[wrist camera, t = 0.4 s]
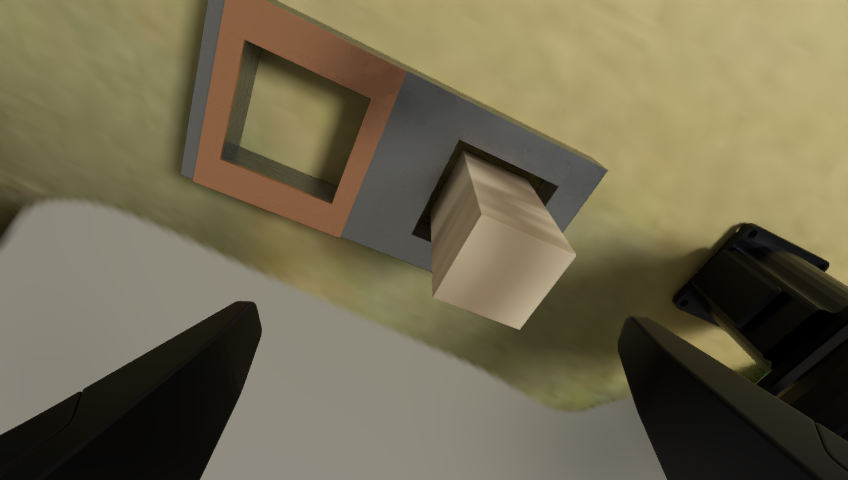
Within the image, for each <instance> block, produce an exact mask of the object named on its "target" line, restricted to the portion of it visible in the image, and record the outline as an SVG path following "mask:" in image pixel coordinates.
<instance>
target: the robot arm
mask: <svg viewBox="0 0 848 480" xmlns="http://www.w3.org/2000/svg"><path fill="white" fill-rule="evenodd" d="M751 231H752V232H751ZM749 232H751V233H750V234H749ZM828 268H829V262H827V261H826V260H824V259H822V258H821V257H819V256H817V255H815V254H813V253H811V252H809V251H807V250H805V249H803V248H801V247H799V246H797V245H795V244H793V243H791V242H789V241H787V240H785V239H783V238H781V237H779V236H777V235H775V234H773V233H772V232H770V231H768V230H766V229H764V228H762V227H760V226H758V225H756V224H753V223H749V224H746V225H744V226H743V227H741V228H740V230H739V231H738V232H737V233H736V234H735V235H734V236H733V237H732V238H731V239H730V240H729V241H728V242H727V243H726V244H725V245H724V246H723V247H722V248H721V249H720V250H719V251H718V252H717V253H716V254H715V255H714V256H713V257H712V258H711V259H710V260H709V261H708V263H707V264H706V265H705V266H704V267H703V268H702V269H701V270H700V271H699V272H698V273H697V274H696V275H695V276H694V277H693V278H692V279H691V280H690V281H689V282H688V283H687V284H686V285H685V286H684V287H683V288H682V289H681V290H680V291H679V292H678V293H677V295H676V296H675V297H674V298H673V301H672V302H673V304H674V305H675V306H676V307H677V308H678V309H680V310H683V311H685V312H687V313H690V314H692V315H694V316H697V317H699V318H701V319H704V320H706V321H708V322H711V323H713V324H716V325H718V326H720V327H722V328H723V329H724V330H725V331H726V332H727V333H728V334H729V335H730V336H731V337H732V338H733V339H734V340H735V341H736V342H737V343H738V344H739V345H740V346H741V347H742V348H743V349H744V351H745V352H746V353H747V354H748V355H749V356H750V357H751V358H752V359H753V360H754V361H755V362H756V363H757V364H758V365H759V366H760V367H761V368H762V369H763V370H764V371H765V372H766V373H767V374H766V375H765V376H764V377H762V378H761V379H760V380H759V381H758V382H757V383H755V384H754V383H753V382H751V381H749V380H748V379H746V378H745V377H743V376H741V375H740V374H738V373H737V372H735V371H733V370H732V369H730V368H728V367H727V366H725V365H724V364H722V363H720V362H719V361H717V360H716V359H714V358H712V357H711V356H709V355H708V354H706V353H704V352H703V351H701V350H700V349H698V348H696V347H695V346H693V345H692V344H690V343H688V342H687V341H685V340H683V339H682V338H680V337H679V336H677V335H675V334H674V333H672V332H671V331H669V330H667V329H666V328H664V327H663V326H661V325H659V324H658V323H656V322H655V321H653V320H651V319H650V318H648V317H645V316H629V317H627V318H626V320H625V322H624V325H623V328H622V331H621V334H620V337H619V340H618V352H619V355H620V359H621V362H622V365H623V368H624V371H625V374H626V378H627V381H628V384H629V387H630V390H631V394H632V397H633V400H634V403H635V405H636V408H637V411H638V414H639V416H640V419H641V421H642V423H643V425H644V427H645V430H646V432H647V435H648V437H649V439H650V441H651V444H652V446H653V448H654V451H655V453H656V455H657V457H658V460H659V462H660V464H661V466H662V469H663V471H664V473H665V476H666V478H667V480H848V286H846V285H844V284H843V283H841V282H840V281H838V280H836V279H835V278H833V277H832V276H830V275H828V274H827V273H825V271H826V270H827V269H828ZM683 300H684V301H683ZM681 301H682V302H681ZM261 332H262V328H261V323H260V319H259V314H258V310H257V307H256V304H255V303H254V302H250V301H237V302H234V303H233V304H231V305H229V306H227V307H226V308H224V309H222V310H220V311H219V312H217V313H215V314H214V315H212V316H210V317H208V318H207V319H205V320H203V321H201V322H200V323H198V324H196V325H194V326H193V327H191V328H189V329H187V330H186V331H184V332H182V333H180V334H179V335H177V336H175V337H174V338H172V339H170V340H168V341H166V342H165V343H163V344H161V345H159V346H158V347H156V348H154V349H153V350H151V351H149V352H147V353H146V354H144V355H142V356H140V357H139V358H137V359H135V360H133V361H132V362H130V363H128V364H126V365H125V366H123V367H121V368H119V369H118V370H116V371H114V372H112V373H111V374H109V375H107V376H105V377H104V378H102V379H100V380H98V381H97V382H95V383H93V384H91V385H90V386H88V387H86V388H85V389H83V391H82V392H77V393H76V394H74V395H72V396H71V397H69V398H67V399H65V400H64V401H62V402H60V403H58V404H57V405H55V406H53V407H51V408H49V409H48V410H46V411H44V412H42V413H40V414H39V415H37V416H35V417H33V418H31V419H30V420H28V421H26V422H24V423H22V424H20V425H18V426H17V427H15V428H13V429H11V430H9V431H7V432H5V433H3V434H1V435H0V480H200V478H201V476H202V474H203V472H204V470H205V468H206V466H207V464H208V462H209V460H210V457H211V455H212V453H213V451H214V449H215V447H216V445H217V443H218V440H219V439H220V437H221V434H222V432H223V430H224V428H225V426H226V424H227V422H228V420H229V418H230V415H231V413H232V411H233V409H234V407H235V405H236V403H237V401H238V399H239V396H240V394H241V391H242V389H243V386H244V384H245V381H246V378H247V375H248V372H249V369H250V366H251V364H252V361H253V358H254V355H255V352H256V349H257V346H258V343H259V341H260V337H261Z"/></svg>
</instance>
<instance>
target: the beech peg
mask: <svg viewBox="0 0 848 480" xmlns="http://www.w3.org/2000/svg"><path fill="white" fill-rule="evenodd" d="M431 249H432V291H433V298H436V299H438V300H441V301H444V302H446V303H449V304H452V305H454V306H457V307H460V308H462V309H465V310H468V311H470V312H473V313H476V314H479V315H481V316H484V317H487V318H489V319H492V320H495V321H497V322H500V323H503V324H505V325H508V326H511V327H513V328H516V329H519V330H520V329H521V327H522V326H523V325H524V323H525V322H526V321H527V319H528V318H529V317H530V316H531V314H532V313H533V312H534V310H535V309H536V308H537V306H538V305H539V304H540V303H541V301H542V300H543V299H544V297H545V296H546V295H547V293H548V292H549V291H550V290H551V288H552V287H553V286H554V284H555V283H556V282H557V280H558V279H559V278H560V276H561V275H562V274H563V273H564V271H565V270H566V269H567V267H568V266H569V265H570V263H571V262H572V261H573V260H574V258H575V257H576V256H577V255H576V254H575V252H574V250H573V249H572V247H571V246H570V244H569V243H568V241H567V240H566V238H565V237H564V235H563V234H562V232H561V231H560V229H559V227H558V226H557V224H556V223H555V221H554V220H553V218H552V217H551V215H550V214H549V212H548V211H547V209H546V208H545V206H544V204H543V203H542V201H541V200H540V198H539V197H538V195H537V194H536V192H535V191H534V189H533V188H532V186H531V185H530V183H529V182H528V180H527V179H525V178H523V177H521V176H519V175H516V174H514V173H512V172H510V171H508V170H506V169H504V168H501V167H499V166H497V165H495V164H493V163H491V162H489V161H486V160H484V159H482V158H480V157H478V156H476V155H474V154H471V153H469V152H467V151H465V150H462V152H461V154H460V156H459V158H458V160H457V162H456V164H455V165H454V167H453V169H452V171H451V173H450V175H449V177H448V179H447V181H446V183H445V185H444V187H443V189H442V191H441V193H440V195H439V196H438V198H437V200H436V202H435V204H434V206H433V208H432V210H431Z"/></svg>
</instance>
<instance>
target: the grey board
mask: <svg viewBox="0 0 848 480" xmlns="http://www.w3.org/2000/svg"><path fill="white" fill-rule="evenodd" d="M262 48H264V49H266V50H268V51H270V52H272V53H275V54H277V55H279V56H281V57H283V58H285V59H287V60H289V61H292V62H294V63H296V64H298V65H300V66H302V67H304V68H306V69H309V70H311V71H313V72H315V73H317V74H319V75H321V76H323V77H326V78H328V79H330V80H332V81H334V82H336V83H338V84H340V85H343V86H345V87H347V88H349V89H351V90H353V91H355V92H357V93H360V94H362V95H364V96H366V97H368V98H370V99H371V101H370V103H369V106H368V109H367V111H366V114H365V117H364V119H363V122H362V125H361V127H360V130H359V133H358V135H357V138H356V141H355V143H354V146H353V149H352V152H351V154H350V157H349V160H348V162H347V165H346V168H345V170H344V173H343V176H342V178H341V181H340V184H339V186H338V187H336V186H333V185H331V184H328V183H326V182H324V181H321V180H319V179H316V178H314V177H311V176H309V175H307V174H304V173H302V172H299V171H297V170H295V169H292V168H290V167H287V166H285V165H282V164H280V163H278V162H275V161H273V160H270V159H268V158H266V157H263V156H261V155H258V154H256V153H253V152H251V151H249V150H246V149H244V148H241V147H239V145H240V141H241V137H242V132H243V128H244V123H245V119H246V115H247V110H248V106H249V102H250V97H251V93H252V88H253V84H254V80H255V75H256V71H257V67H258V62H259V58H260V53H261V49H262ZM459 140H462V141H464V142H466V143H468V144H470V145H472V146H474V147H476V148H479V149H481V150H483V151H485V152H487V153H489V154H491V155H493V156H495V157H498V158H500V159H502V160H504V161H506V162H508V163H510V164H512V165H515V166H517V167H519V168H521V169H523V170H525V171H527V172H529V173H532V174H534V175H536V176H538V177H540V178H542V179H544V180H543V181H542V183H541V184H540V186H539V187H538V189H537V191H536V194H537V195H538V197H539V198H540V200H541V201H542V203H543V204H544V206H545V208H546V209H547V211H548V212H549V214H550V215H551V217H552V218H553V220H554V221H555V223H556V224H557V226H558V227H559V229H560V231H561V232H562V233H563V232H564V231H565V229H566V228H567V226H568V225H569V224H570V222H571V221H572V220H573V218H574V217H575V215H576V214H577V213H578V211H579V210H580V208H581V207H582V206H583V204H584V203H585V202H586V200H587V199H588V197H589V196H590V195H591V193H592V192H593V190H594V189H595V188H596V186H597V185H598V183H599V182H600V181H601V179H602V178H603V177H604V175H605V174H606V172H607V171H608V170H607V169H606V168H604V167H603V166H602V165H601V164H599V163H598V162H597V161H596V160H594V159H593V158H591V157H589V156H587V155H585V154H583V153H581V152H579V151H577V150H575V149H573V148H571V147H569V146H567V145H565V144H563V143H561V142H559V141H557V140H555V139H553V138H551V137H549V136H547V135H545V134H543V133H541V132H539V131H537V130H535V129H533V128H531V127H529V126H527V125H525V124H523V123H521V122H519V121H517V120H515V119H513V118H511V117H509V116H507V115H505V114H503V113H501V112H499V111H497V110H495V109H493V108H491V107H489V106H487V105H485V104H483V103H481V102H479V101H477V100H475V99H473V98H471V97H469V96H467V95H465V94H463V93H461V92H459V91H457V90H455V89H453V88H451V87H449V86H447V85H445V84H443V83H441V82H439V81H437V80H435V79H433V78H431V77H429V76H427V75H425V74H423V73H421V72H419V71H417V70H415V69H413V68H411V67H409V66H407V65H405V64H403V63H401V62H399V61H397V60H395V59H393V58H391V57H389V56H387V55H385V54H383V53H381V52H379V51H377V50H375V49H373V48H371V47H369V46H367V45H365V44H363V43H361V42H359V41H357V40H355V39H353V38H351V37H349V36H347V35H345V34H343V33H341V32H339V31H337V30H335V29H333V28H331V27H329V26H327V25H325V24H323V23H321V22H319V21H317V20H315V19H313V18H311V17H309V16H307V15H305V14H303V13H301V12H299V11H297V10H295V9H293V8H291V7H289V6H287V5H285V4H283V3H281V2H279V1H277V0H208V4H207V11H206V17H205V23H204V29H203V36H202V42H201V48H200V55H199V61H198V67H197V73H196V80H195V86H194V92H193V98H192V105H191V111H190V117H189V124H188V130H187V136H186V142H185V149H184V155H183V161H182V168H181V175H183V176H186V177H188V178H191V179H193V182H195V183H198V184H201V185H203V186H206V187H208V188H211V189H214V190H216V191H219V192H221V193H224V194H227V195H229V196H232V197H234V198H237V199H239V200H242V201H245V202H247V203H250V204H252V205H255V206H258V207H260V208H263V209H265V210H268V211H271V212H273V213H276V214H278V215H281V216H283V217H286V218H289V219H291V220H294V221H296V222H299V223H302V224H304V225H307V226H309V227H312V228H315V229H317V230H320V231H322V232H325V233H328V234H330V235H333V236H335V237H338V238H340V236H341V237H343V238H346V239H348V240H351V241H354V242H356V243H359V244H361V245H364V246H366V247H369V248H372V249H374V250H377V251H379V252H382V253H385V254H387V255H390V256H392V257H395V258H397V259H400V260H403V261H405V262H408V263H410V264H413V265H416V266H418V267H421V268H423V269H426V270H428V271H431V272H432V249H431V226H430V225H428V224H425V223H423V222H420V221H418V220H419V218H420V216H421V214H422V212H423V210H424V208H425V206H426V204H427V202H428V200H429V198H430V196H431V194H432V192H433V190H434V188H435V186H436V184H437V182H438V180H439V178H440V176H441V174H442V172H443V170H444V168H445V167H446V165H447V163H448V161H449V159H450V157H451V155H452V153H453V151H454V149H455V147H456V145H457V143H458V141H459Z"/></svg>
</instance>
